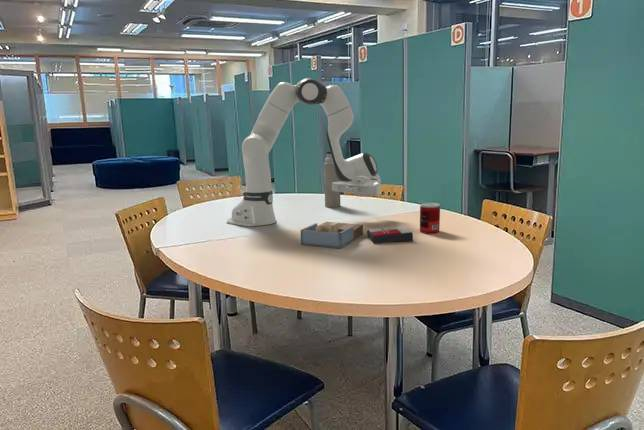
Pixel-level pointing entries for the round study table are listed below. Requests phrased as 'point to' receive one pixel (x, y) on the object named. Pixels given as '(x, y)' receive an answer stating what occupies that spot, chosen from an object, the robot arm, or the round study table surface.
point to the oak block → (328, 227)
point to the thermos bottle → (330, 183)
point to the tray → (326, 237)
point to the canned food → (429, 218)
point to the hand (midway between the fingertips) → (348, 190)
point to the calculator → (390, 235)
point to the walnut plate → (356, 229)
